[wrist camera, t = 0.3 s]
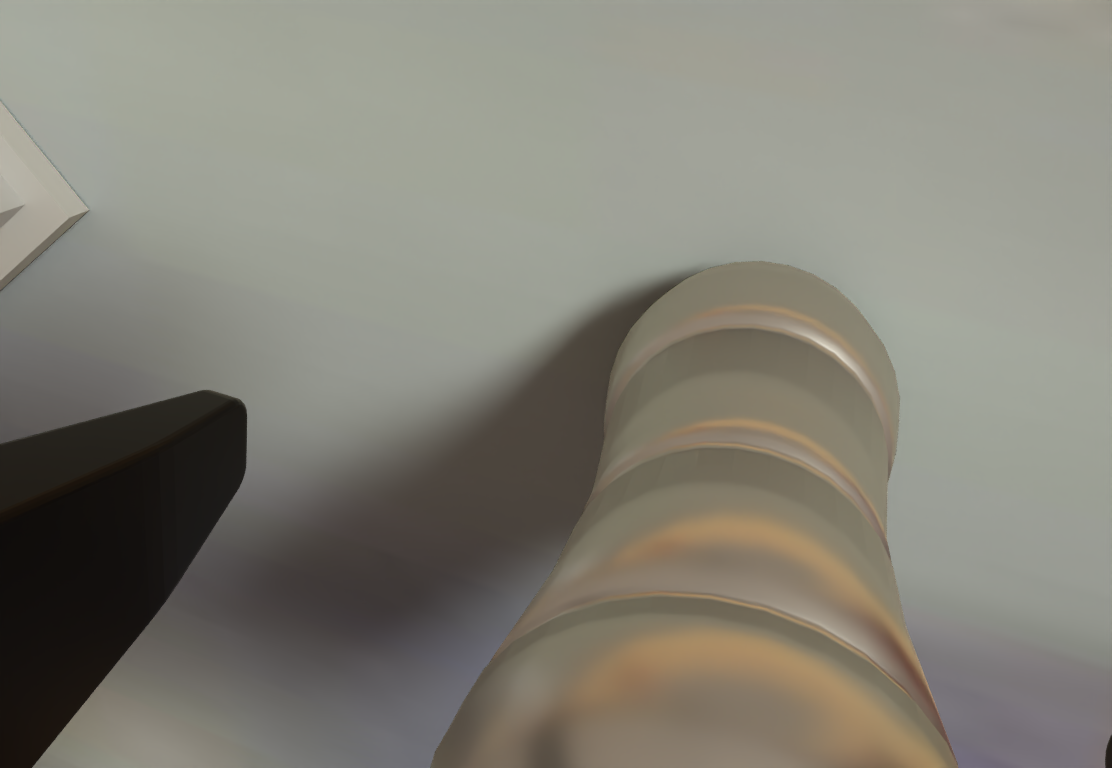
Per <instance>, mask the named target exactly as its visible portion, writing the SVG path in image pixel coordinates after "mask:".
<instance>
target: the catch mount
mask: <svg viewBox="0 0 1112 768" xmlns="http://www.w3.org/2000/svg"><path fill="white" fill-rule="evenodd" d="M88 211H89V209H88V208H87V207H86V206H85V205H84V203H83V202H82V201H81V200H80V198H79V197H78V196H77V195H76V193H75V192H74V191H73V190H72V189H71V187H70V186H69V185H68V184H67V182H66V181H65V180H64V179H63V178H62V176H61V175H60V174H59V173H58V171H57V170H56V169H55V168H54V166H53V165H52V164H51V163H50V162H49V160H48V159H47V158H46V157H45V155H44V154H43V153H42V152H41V150H40V149H39V148H38V147H37V146H36V144H35V143H34V142H33V141H32V139H31V138H30V137H29V136H28V135H27V133H26V132H25V131H24V130H23V128H22V127H21V126H20V125H19V123H18V122H17V121H16V120H15V119H14V117H13V116H12V115H11V114H10V112H9V111H8V110H7V109H6V107H5V106H4V105H3V104H2V103H1V101H0V290H1V289H2V288H4V287H5V286H6V285H7V284H8V283H9V282H10V281H11V280H12V279H13V278H15V277H16V276H17V275H18V274H19V273H20V272H21V271H22V270H23V269H25V268H26V267H27V266H28V265H29V264H30V263H31V262H32V261H33V260H34V259H36V258H37V257H38V256H39V255H40V254H41V253H42V252H43V251H44V250H46V249H47V248H48V247H49V246H50V245H51V244H52V243H53V242H54V241H55V240H57V239H58V238H59V237H60V236H61V235H62V234H63V233H64V232H65V231H67V230H68V229H69V228H70V227H71V226H72V225H73V224H74V223H75V222H76V221H78V220H79V219H80V218H81V217H82V216H83V215H84V214H85V213H86V212H88Z"/></svg>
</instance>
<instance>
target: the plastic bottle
mask: <svg viewBox="0 0 1112 768" xmlns="http://www.w3.org/2000/svg"><path fill="white" fill-rule="evenodd" d="M899 409H900V396H899V391H898V385H897V380H896V374H895V370H894V368H893V365H892V363H891V361H890V358H889V356H888V353H887V351H886V349H885V346H884V344H883V343H882V342H881V340H880V339H879V337H878V336H877V334H876V333H875V332H874V330H873V329H872V327H871V326H870V324H869V323H868V322H867V320H866V319H865V318H864V316H863V315H862V314H861V312H860V311H859V310H858V308H857V307H856V306H855V305H854V304H853V303H852V302H851V301H850V300H849V299H848V298H846V297H845V296H844V295H843V294H842V293H841V292H840V291H839V290H838V289H837V288H835V287H834V286H832V285H830V284H829V283H827V282H825V281H824V280H822V279H820V278H819V277H817V276H815V275H814V274H811V273H808V272H806V271H803V270H800V269H797V268H795V267H792V266H789V265H783V264H777V263H771V262H764V261H752V262H734V263H729V264H725V265H721V266H717V267H712V268H709V269H706V270H704V271H702V272H700V273H698V274H695V275H693V276H691V277H689V278H687V279H685V280H684V281H682V282H681V283H679V284H678V285H677V286H675V287H674V288H673V289H671V290H670V291H668V292H667V293H666V294H664V295H663V296H662V297H661V298H660V299H658V300H657V301H656V302H655V303H654V304H653V305H651V306H650V307H649V309H648V310H647V311H646V312H645V313H644V314H643V315H642V316H641V317H640V318H639V319H638V321H637V322H636V323H635V324H634V325H633V326H632V328H631V329H630V331H629V333H628V334H627V336H626V338H625V339H624V341H623V343H622V344H621V346H620V348H619V350H618V353H617V356H616V359H615V362H614V365H613V368H612V371H611V374H610V380H609V386H608V393H607V399H606V408H605V417H604V444H603V449H602V453H601V457H600V461H599V465H598V469H597V474H596V478H595V482H594V486H593V490H592V494H591V496H590V497H589V499H588V501H587V503H586V505H585V507H584V509H583V512H582V515H581V517H580V519H579V521H578V522H577V524H576V526H575V527H574V529H573V531H572V533H571V535H570V537H569V539H568V541H567V543H566V545H565V547H564V549H563V551H562V553H561V555H560V557H559V559H558V561H557V563H556V565H555V567H554V569H553V571H552V573H551V574H550V575H549V577H548V578H547V580H546V581H545V583H544V584H543V585H542V587H541V588H540V590H539V591H538V593H537V594H536V596H535V597H534V598H533V600H532V601H531V603H530V604H529V606H528V607H527V609H526V610H525V611H524V613H523V614H522V616H521V617H520V619H519V620H518V621H517V623H516V624H515V626H514V627H513V629H512V630H511V632H510V633H509V634H508V636H507V637H506V639H505V640H504V642H503V643H502V645H501V646H500V647H499V649H498V650H497V652H496V653H495V655H494V656H493V658H492V660H491V661H490V663H489V664H488V665H487V666H486V667H485V668H484V670H483V671H482V673H481V674H480V676H479V677H478V679H477V681H476V682H475V684H474V685H473V687H472V688H471V690H470V692H469V693H468V695H467V696H466V698H465V699H464V701H463V703H462V705H461V707H460V709H459V710H458V712H457V714H456V716H455V718H454V720H453V721H452V723H451V725H450V727H449V729H448V731H447V732H446V734H445V736H444V737H443V739H442V741H441V742H440V744H439V746H438V748H437V749H436V751H435V754H434V757H433V760H432V764H431V767H430V768H958V763H957V761H956V758H955V755H954V753H953V750H952V747H951V745H950V742H949V739H948V737H947V734H946V731H945V729H944V726H943V723H942V721H941V718H940V715H939V713H938V710H937V707H936V705H935V702H934V699H933V697H932V694H931V692H930V689H929V686H928V684H927V681H926V678H925V676H924V673H923V670H922V668H921V665H920V662H919V660H918V657H917V654H916V652H915V649H914V646H913V644H912V641H911V638H910V636H909V633H908V631H907V628H906V624H905V620H904V615H903V611H902V606H901V601H900V597H899V592H898V588H897V583H896V579H895V574H894V570H893V566H892V562H891V557H890V552H889V547H888V543H887V485H888V481H889V477H890V473H891V470H892V466H893V462H894V459H895V455H896V448H897V438H898V428H899Z"/></svg>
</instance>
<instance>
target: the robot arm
mask: <svg viewBox="0 0 1112 768" xmlns="http://www.w3.org/2000/svg"><path fill="white" fill-rule="evenodd" d="M246 452H247V410H246V407H245V404H244V403H243V402H242V401H241V400H240V399H238V398H235V397H231V396H228V395H225V394H221V393H218V392H215V391H211V390H201V391H198V392H194V393H190V394H186V395H183V396H179V397H175V398H171V399H167V400H164V401H160V402H156V403H152V404H149V405H145V406H141V407H137V408H134V409H130V410H126V411H122V412H119V413H115V414H111V415H107V416H104V417H100V418H96V419H92V420H89V421H85V422H81V423H77V424H73V425H70V426H66V427H62V428H58V429H55V430H51V431H47V432H43V433H40V434H36V435H32V436H28V437H25V438H21V439H17V440H13V441H10V442H6V443H2V444H0V768H32V767H33V766H34V764H35V763H36V762H37V761H38V759H39V758H40V757H41V756H42V755H43V753H44V752H45V751H46V750H47V748H48V747H49V746H50V745H51V743H52V742H53V741H54V740H55V738H56V737H57V736H58V735H59V734H60V732H61V731H62V730H63V729H64V727H65V726H66V725H67V724H68V722H69V721H70V720H71V719H72V717H73V716H74V715H75V714H76V713H77V711H78V710H79V709H80V708H81V706H82V705H83V704H84V703H85V701H86V700H87V699H88V698H89V696H90V695H91V694H92V693H93V692H94V690H95V689H96V688H97V687H98V685H99V684H100V683H101V682H102V680H103V679H104V678H105V677H106V676H107V674H108V673H109V672H110V671H111V669H112V668H113V667H114V666H115V664H116V663H117V662H118V661H119V659H120V658H121V657H122V656H123V655H124V653H125V652H126V651H127V650H128V648H129V647H130V646H131V645H132V643H133V642H134V641H135V640H136V638H137V637H138V636H139V635H140V634H141V632H142V631H143V630H144V629H145V627H146V626H147V625H148V624H149V622H150V621H151V620H152V619H153V617H154V616H155V615H156V613H157V612H158V611H159V610H160V608H161V607H162V606H163V604H164V603H165V602H166V600H167V599H168V597H169V596H170V594H171V593H172V591H173V590H174V588H175V587H176V586H177V584H178V583H179V581H180V579H181V578H182V576H183V575H184V573H185V572H186V570H187V569H188V567H189V565H190V564H191V562H192V561H193V559H194V558H195V556H196V554H197V553H198V551H199V550H200V548H201V547H202V545H203V543H204V542H205V540H206V539H207V537H208V536H209V534H210V533H211V531H212V529H213V528H214V526H215V525H216V523H217V522H218V520H219V518H220V517H221V515H222V514H223V512H224V511H225V509H226V508H227V506H228V504H229V503H230V501H231V500H232V498H233V497H234V495H235V493H236V492H237V490H238V489H239V487H240V485H241V483H242V480H243V477H244V474H245V470H246ZM1105 766H1106V768H1112V735H1111V737H1110V740H1109V742H1108V745H1107V749H1106V756H1105Z"/></svg>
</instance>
